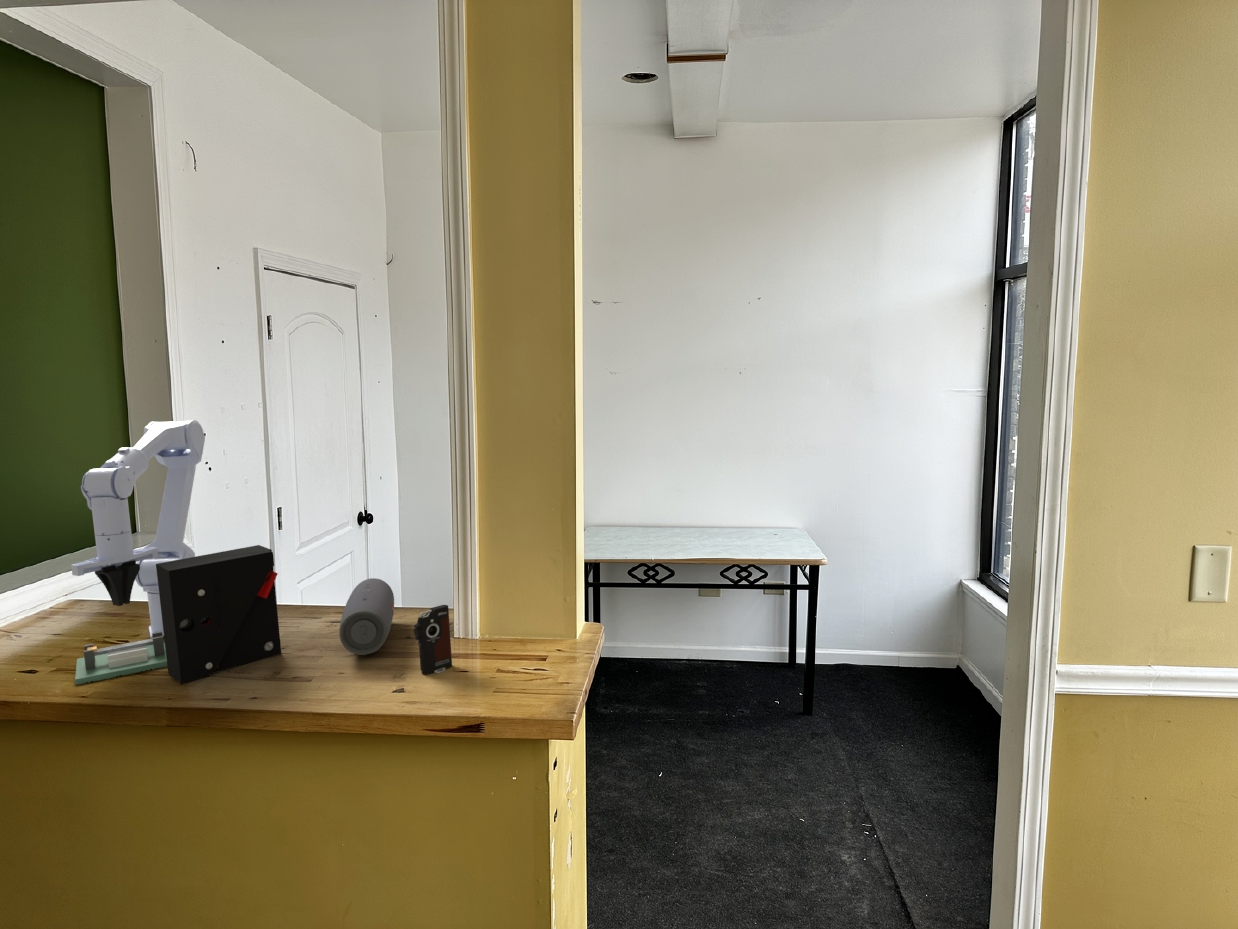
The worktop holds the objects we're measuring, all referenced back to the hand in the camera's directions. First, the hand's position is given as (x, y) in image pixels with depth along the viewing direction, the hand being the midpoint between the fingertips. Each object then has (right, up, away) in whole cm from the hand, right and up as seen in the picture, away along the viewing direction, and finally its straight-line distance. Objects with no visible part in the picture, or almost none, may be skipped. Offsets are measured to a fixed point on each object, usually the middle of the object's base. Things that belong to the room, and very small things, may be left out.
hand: (121, 604), depth 150 cm
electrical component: (+21, -10, -3) cm, 24 cm away
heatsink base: (+2, -11, -2) cm, 11 cm away
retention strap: (+2, -8, -2) cm, 9 cm away
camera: (+61, -10, -10) cm, 62 cm away
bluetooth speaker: (+45, -8, +6) cm, 46 cm away
